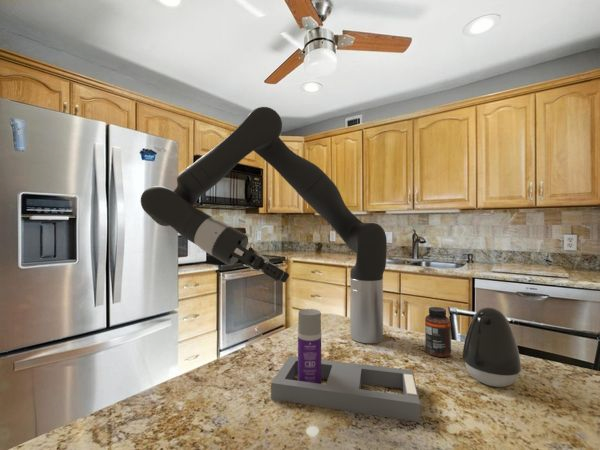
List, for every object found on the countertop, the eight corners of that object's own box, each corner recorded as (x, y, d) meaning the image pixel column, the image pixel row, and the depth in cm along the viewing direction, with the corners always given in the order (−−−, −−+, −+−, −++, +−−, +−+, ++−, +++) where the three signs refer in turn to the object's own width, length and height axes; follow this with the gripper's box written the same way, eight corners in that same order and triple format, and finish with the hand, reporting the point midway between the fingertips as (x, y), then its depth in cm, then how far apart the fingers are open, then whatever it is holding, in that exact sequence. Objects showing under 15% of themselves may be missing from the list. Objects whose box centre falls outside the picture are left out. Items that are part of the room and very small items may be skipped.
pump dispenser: (456, 381, 62) (456, 308, 62) (469, 364, 70) (469, 299, 70) (516, 401, 55) (516, 318, 55) (524, 379, 63) (523, 307, 63)
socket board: (289, 369, 67) (289, 355, 67) (412, 384, 61) (412, 369, 61) (270, 398, 56) (270, 381, 56) (420, 422, 49) (420, 402, 49)
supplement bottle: (445, 348, 79) (445, 305, 79) (455, 358, 73) (454, 312, 73) (422, 348, 79) (422, 305, 79) (429, 357, 73) (429, 311, 73)
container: (304, 395, 57) (304, 316, 57) (293, 384, 61) (293, 310, 61) (325, 389, 59) (325, 313, 59) (313, 378, 63) (313, 307, 63)
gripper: (219, 218, 59) (290, 258, 56) (239, 232, 73) (297, 265, 70) (198, 251, 58) (269, 294, 55) (223, 259, 72) (280, 293, 69)
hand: (284, 277), depth 62 cm, fingers open, 8 cm apart
